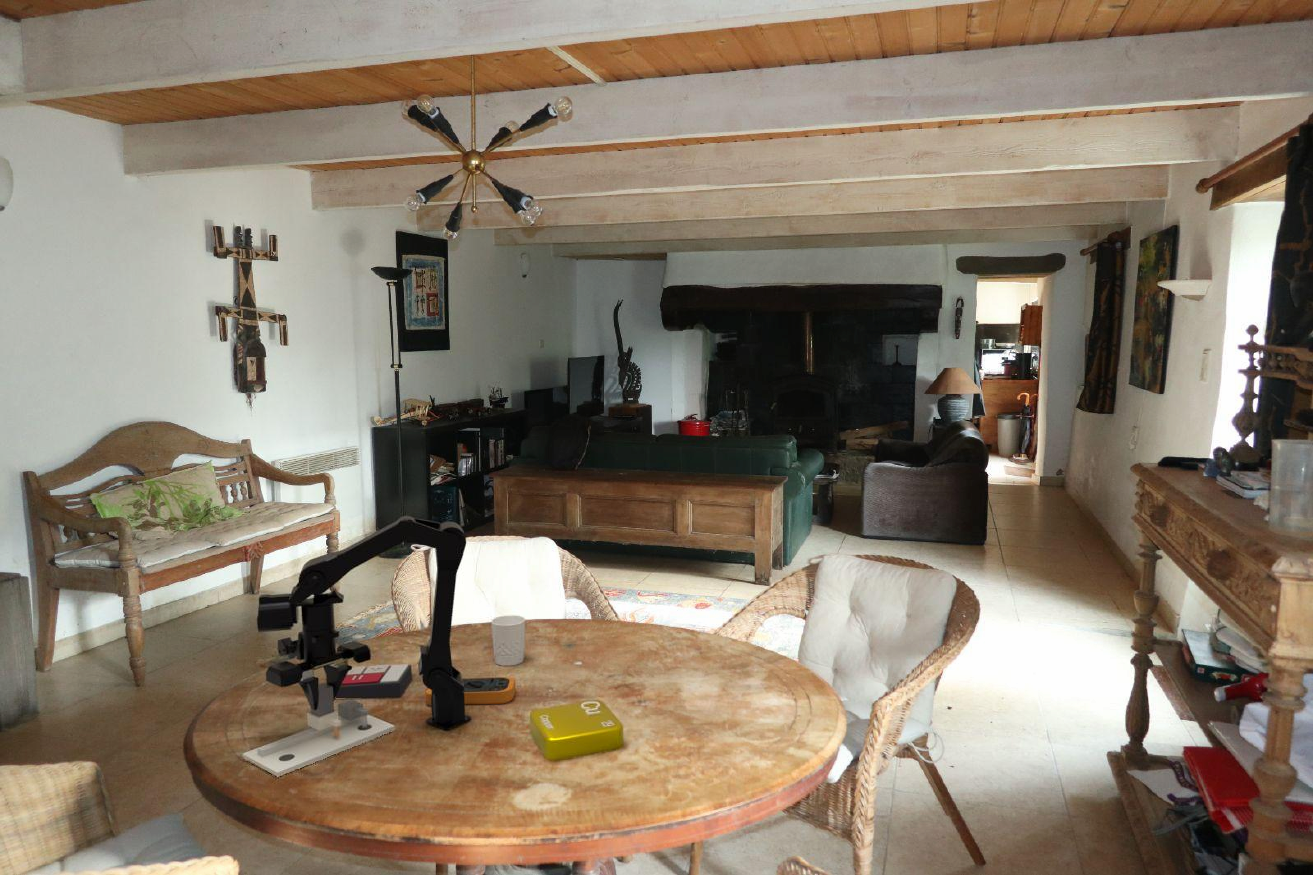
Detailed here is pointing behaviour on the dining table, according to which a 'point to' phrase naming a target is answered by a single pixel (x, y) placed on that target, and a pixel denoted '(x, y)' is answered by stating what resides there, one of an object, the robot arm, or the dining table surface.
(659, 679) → the dining table surface
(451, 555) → the robot arm
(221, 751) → the dining table surface
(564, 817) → the dining table surface
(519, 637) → the white cup
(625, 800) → the dining table surface
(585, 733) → the element tile
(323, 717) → the block
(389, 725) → the plate
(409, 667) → the calculator
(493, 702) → the multimeter
